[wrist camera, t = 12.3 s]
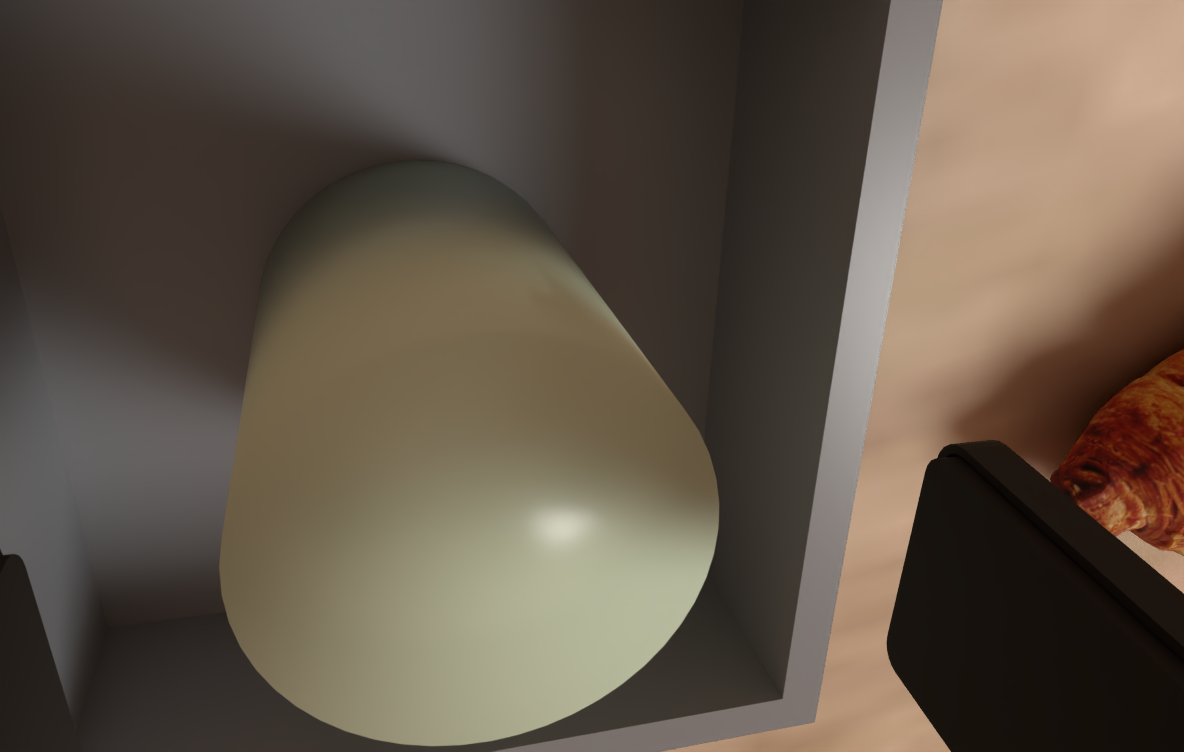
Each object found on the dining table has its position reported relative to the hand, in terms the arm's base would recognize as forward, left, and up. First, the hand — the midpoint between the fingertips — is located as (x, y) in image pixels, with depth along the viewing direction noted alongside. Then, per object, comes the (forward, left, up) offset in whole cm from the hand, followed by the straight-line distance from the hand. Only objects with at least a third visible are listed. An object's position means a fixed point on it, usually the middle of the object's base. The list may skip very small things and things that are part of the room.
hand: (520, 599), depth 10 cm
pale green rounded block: (0, 0, -9) cm, 9 cm away
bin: (+1, -1, -10) cm, 10 cm away
